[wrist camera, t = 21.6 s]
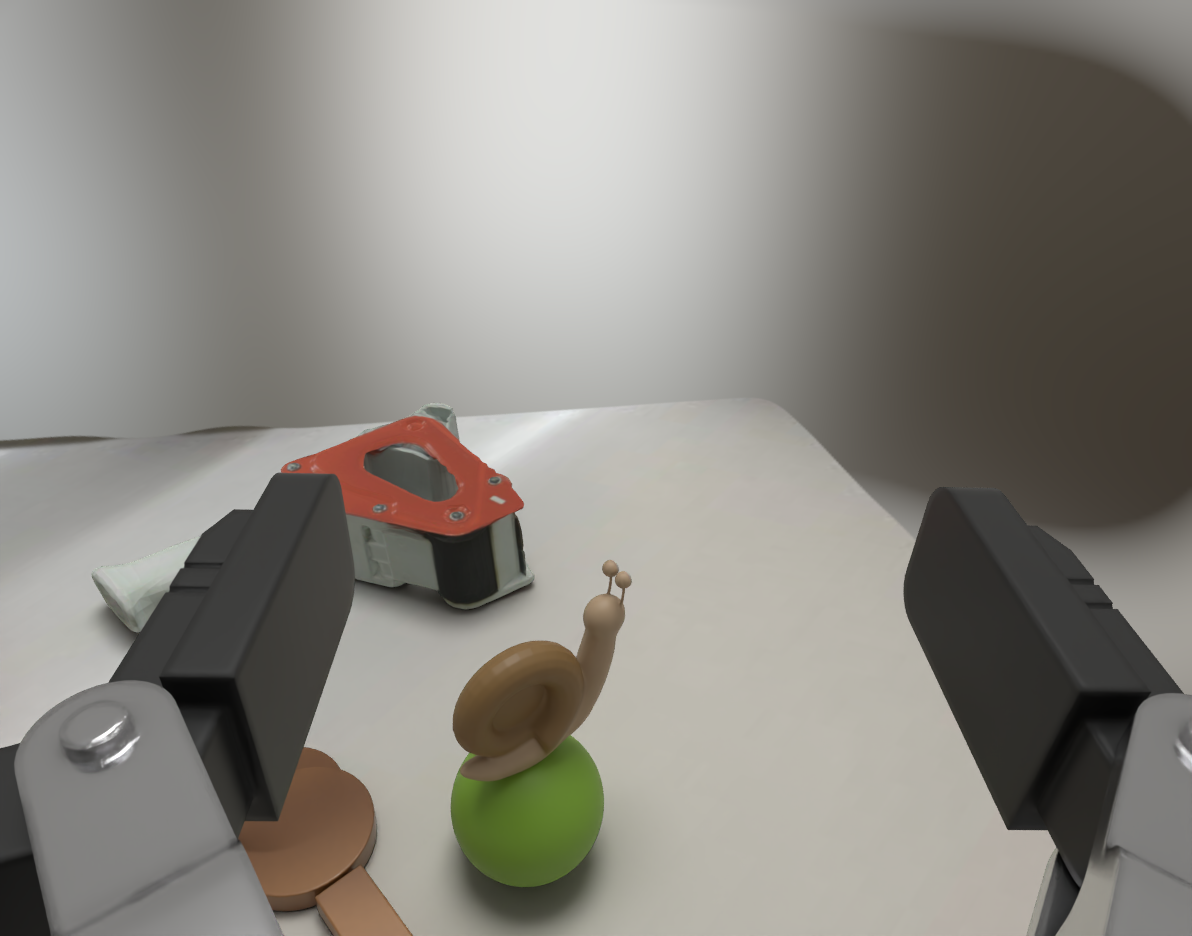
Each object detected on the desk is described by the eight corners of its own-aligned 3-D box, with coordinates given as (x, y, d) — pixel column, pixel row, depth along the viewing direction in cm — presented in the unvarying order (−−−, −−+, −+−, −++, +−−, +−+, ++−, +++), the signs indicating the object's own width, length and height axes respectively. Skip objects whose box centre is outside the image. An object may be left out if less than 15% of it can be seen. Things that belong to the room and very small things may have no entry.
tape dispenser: (90, 655, 40) (486, 712, 36) (43, 574, 36) (472, 628, 33) (273, 450, 53) (572, 477, 50) (251, 379, 50) (567, 402, 47)
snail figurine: (650, 847, 31) (681, 613, 24) (504, 951, 28) (494, 713, 21) (567, 748, 34) (574, 521, 28) (429, 830, 31) (400, 594, 24)
